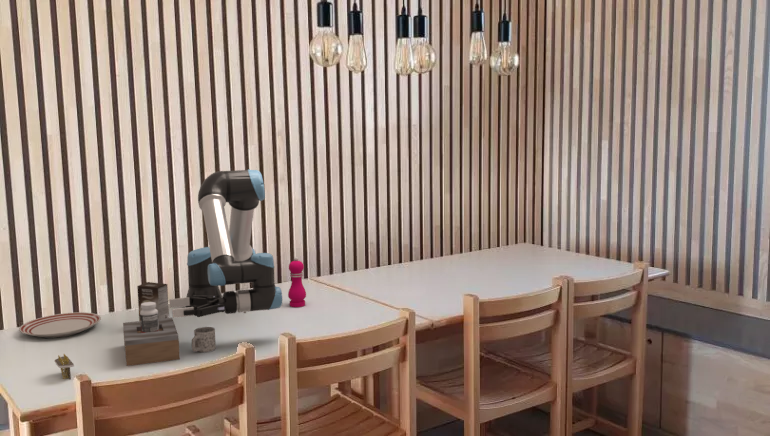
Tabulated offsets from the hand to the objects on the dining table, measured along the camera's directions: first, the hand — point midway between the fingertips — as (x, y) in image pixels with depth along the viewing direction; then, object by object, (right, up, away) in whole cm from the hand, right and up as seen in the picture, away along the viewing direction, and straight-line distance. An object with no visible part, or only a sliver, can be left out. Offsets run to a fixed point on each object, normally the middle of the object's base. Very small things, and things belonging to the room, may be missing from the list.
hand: (170, 308), depth 246 cm
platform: (-26, -18, -22) cm, 38 cm away
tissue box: (-6, -14, 0) cm, 16 cm away
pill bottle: (-6, -8, -1) cm, 10 cm away
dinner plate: (-48, -12, +27) cm, 56 cm away
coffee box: (-14, -11, +28) cm, 33 cm away
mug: (+10, -14, +1) cm, 18 cm away
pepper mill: (+35, -6, +56) cm, 67 cm away
